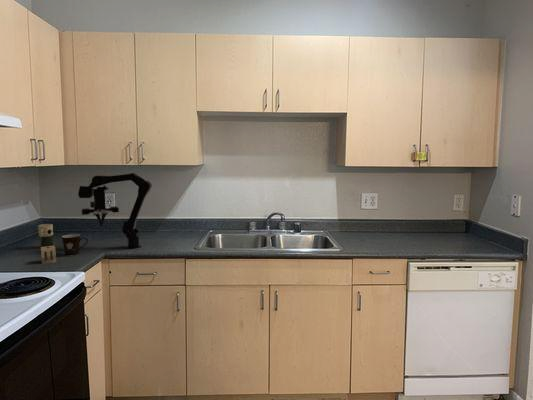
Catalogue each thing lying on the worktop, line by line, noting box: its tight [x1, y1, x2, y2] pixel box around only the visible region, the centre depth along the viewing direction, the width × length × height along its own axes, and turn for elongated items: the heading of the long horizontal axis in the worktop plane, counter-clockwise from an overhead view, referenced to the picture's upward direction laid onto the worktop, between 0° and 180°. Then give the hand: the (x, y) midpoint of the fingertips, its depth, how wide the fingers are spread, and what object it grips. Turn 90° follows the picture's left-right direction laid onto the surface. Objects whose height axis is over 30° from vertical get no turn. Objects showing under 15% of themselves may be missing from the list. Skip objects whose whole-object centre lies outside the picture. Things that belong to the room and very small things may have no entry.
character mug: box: [37, 223, 54, 248], centre depth 217 cm, size 11×7×13 cm, turn 3°
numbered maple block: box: [40, 245, 57, 265], centre depth 188 cm, size 6×6×7 cm
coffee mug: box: [61, 233, 89, 256], centre depth 201 cm, size 12×9×10 cm
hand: (101, 225), depth 213 cm, fingers closed
